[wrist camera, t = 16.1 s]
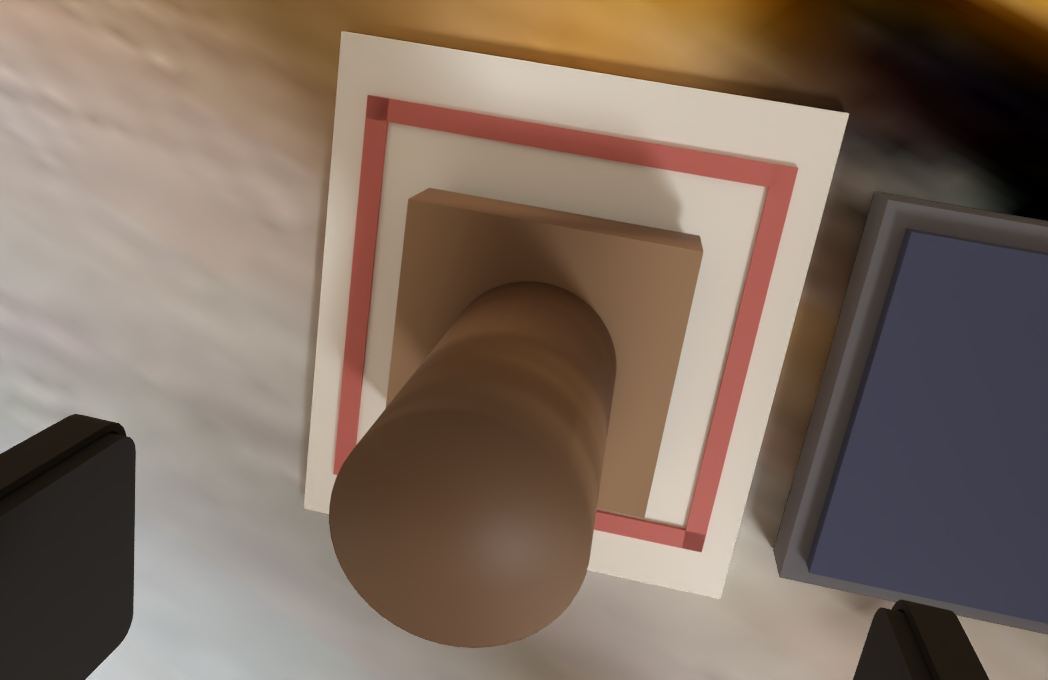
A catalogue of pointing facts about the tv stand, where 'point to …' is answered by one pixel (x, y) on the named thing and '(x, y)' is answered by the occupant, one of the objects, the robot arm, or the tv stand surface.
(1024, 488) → the ink pad
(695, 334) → the marked card
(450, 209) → the stamp
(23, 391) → the tv stand surface
